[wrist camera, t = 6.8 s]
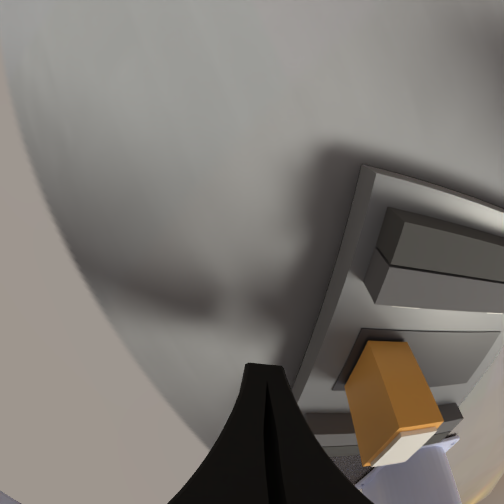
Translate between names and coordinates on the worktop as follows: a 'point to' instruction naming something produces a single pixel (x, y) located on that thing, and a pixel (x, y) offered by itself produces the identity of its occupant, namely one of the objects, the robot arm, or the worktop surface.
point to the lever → (390, 404)
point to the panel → (393, 317)
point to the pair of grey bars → (423, 294)
